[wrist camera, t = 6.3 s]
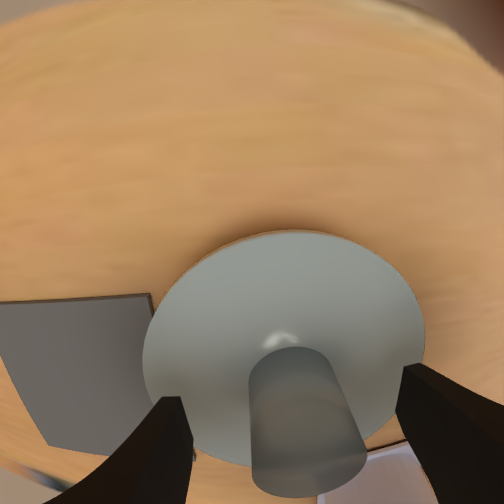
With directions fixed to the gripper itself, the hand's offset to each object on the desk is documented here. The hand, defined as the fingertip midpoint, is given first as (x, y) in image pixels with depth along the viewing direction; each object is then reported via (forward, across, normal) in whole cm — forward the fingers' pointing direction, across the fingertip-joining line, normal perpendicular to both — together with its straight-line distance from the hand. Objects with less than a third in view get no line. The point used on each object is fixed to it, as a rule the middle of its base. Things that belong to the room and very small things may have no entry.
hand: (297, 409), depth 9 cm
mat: (+5, +11, +3) cm, 13 cm away
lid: (+2, 0, 0) cm, 2 cm away
